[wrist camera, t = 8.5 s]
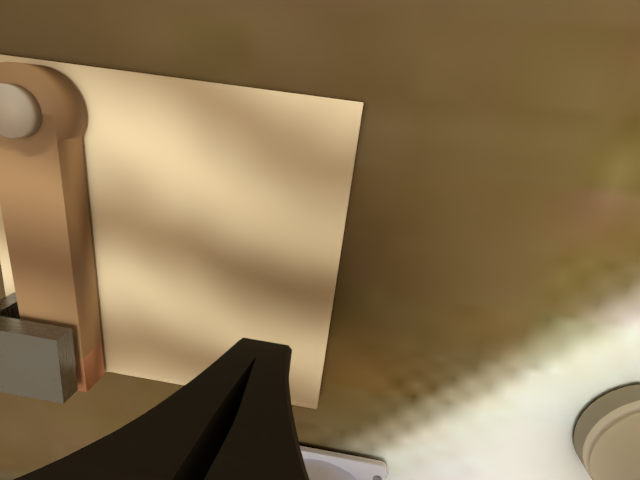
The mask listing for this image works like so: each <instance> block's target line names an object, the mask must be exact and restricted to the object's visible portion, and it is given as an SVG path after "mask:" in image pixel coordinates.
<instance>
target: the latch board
mask: <svg viewBox="0 0 640 480" xmlns="http://www.w3.org/2000/svg"><path fill="white" fill-rule="evenodd" d="M0 62H18V63H27V64H36V65H43V66H48V67H51V68H53V69H55V70H57V71H59V72H60V73H62V74H63V75H64V76H66V77H67V78H68V79H69V80H70V81H71V82H72V83H73V85H74V86H75V87H76V89H77V90H78V92H79V94H80V96H81V98H82V100H83V103H84V107H85V112H86V126H85V130H84V133H83V136H82V146H83V157H84V167H85V177H86V187H87V197H88V207H89V217H90V228H91V238H92V248H93V258H94V268H95V278H96V288H97V299H98V309H99V319H100V329H101V339H102V349H103V359H104V370H105V371H108V372H113V373H119V374H124V375H130V376H136V377H141V378H147V379H152V380H158V381H163V382H169V383H174V384H180V385H186V384H187V383H189V382H190V381H191V380H193V379H194V378H195V377H196V376H198V375H199V374H200V373H201V372H203V371H204V370H205V369H206V368H208V367H209V366H210V365H211V364H212V363H214V362H215V361H216V360H217V359H218V358H219V357H221V356H222V355H223V354H224V353H225V352H226V351H228V350H229V349H230V348H231V347H232V346H233V345H234V344H236V343H237V342H238V341H239V340H240V339H242V338H249V339H255V340H261V341H266V342H272V343H278V344H284V345H289V347H290V348H291V349H292V355H291V363H290V372H289V388H290V397H291V405H297V406H302V407H308V408H313V409H317V405H318V399H319V392H320V386H321V379H322V372H323V366H324V359H325V353H326V346H327V340H328V333H329V326H330V320H331V313H332V307H333V300H334V294H335V287H336V280H337V274H338V267H339V261H340V254H341V248H342V241H343V235H344V228H345V221H346V215H347V208H348V202H349V195H350V189H351V182H352V175H353V169H354V162H355V156H356V149H357V143H358V136H359V129H360V123H361V116H362V110H363V102H356V101H348V100H341V99H333V98H326V97H318V96H311V95H303V94H295V93H288V92H280V91H273V90H265V89H258V88H250V87H242V86H235V85H227V84H220V83H212V82H205V81H197V80H190V79H182V78H174V77H167V76H159V75H152V74H144V73H137V72H129V71H121V70H114V69H106V68H99V67H91V66H84V65H76V64H68V63H61V62H53V61H46V60H38V59H31V58H23V57H16V56H8V55H0ZM0 261H1V268H2V274H3V280H4V287H5V293H6V296H8V295H10V294H12V293H14V292H15V287H14V281H13V275H12V269H11V264H10V258H9V252H8V246H7V241H6V235H5V229H4V224H3V218H2V212H1V206H0Z"/></svg>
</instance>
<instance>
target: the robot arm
mask: <svg viewBox="0 0 640 480" xmlns="http://www.w3.org/2000/svg"><path fill="white" fill-rule="evenodd" d="M291 355H292V349H291V348H290V347H289V345H284V344H278V343H272V342H266V341H261V340H255V339H249V338H242V339H240V340H239V341H238V342H237V343H236V344H234V345H233V346H232V347H231V348H230V349H229V350H228V351H226V352H225V353H224V354H223V355H222V356H221V357H219V358H218V359H217V360H216V361H215V362H214V363H212V364H211V365H210V366H209V367H208V368H206V369H205V370H204V371H203V372H201V373H200V374H199V375H198V376H196V377H195V378H194V379H193V380H191V381H190V382H189V383H187V384H186V385H185V386H183V387H182V388H181V389H179V390H178V391H176V392H175V393H174V394H172V395H171V396H169V397H168V398H167V399H165V400H164V401H162V402H161V403H160V404H158V405H157V406H155V407H154V408H152V409H151V410H149V411H148V412H146V413H145V414H143V415H141V416H140V417H138V418H137V419H135V420H133V421H132V422H130V423H128V424H127V425H125V426H123V427H122V428H120V429H118V430H116V431H115V432H113V433H111V434H109V435H107V436H105V437H103V438H101V439H99V440H97V441H95V442H93V443H91V444H90V445H88V446H86V447H84V448H82V449H80V450H78V451H76V452H74V453H72V454H70V455H68V456H66V457H64V458H62V459H60V460H57V461H55V462H53V463H51V464H49V465H46V466H44V467H42V468H40V469H38V470H35V471H33V472H30V473H28V474H26V475H23V476H21V477H19V478H16V479H14V480H386V477H387V465H386V464H385V463H384V462H383V461H379V460H374V459H369V458H363V457H358V456H353V455H347V454H342V453H336V452H331V451H326V450H320V449H315V448H310V447H304V446H300V445H299V441H298V437H297V433H296V428H295V423H294V417H293V412H292V405H291V397H290V388H289V372H290V363H291ZM375 475H378V476H375Z"/></svg>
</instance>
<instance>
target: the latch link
mask: <svg viewBox="0 0 640 480" xmlns="http://www.w3.org/2000/svg"><path fill="white" fill-rule="evenodd" d="M85 126H86V112H85V107H84V103H83V100H82V98H81V96H80V94H79V92H78V90H77V89H76V87H75V86H74V85H73V83H72V82H71V81H70V80H69V79H68V78H67V77H66V76H64V75H63V74H62V73H60V72H59V71H57V70H55V69H53V68H51V67H48V66H43V65H36V64H27V63H18V62H0V206H1V212H2V218H3V224H4V229H5V235H6V241H7V246H8V252H9V258H10V264H11V269H12V275H13V281H14V287H15V292H16V298H17V304H18V310H19V315H20V320H26V321H32V322H37V323H43V324H49V325H55V326H60V327H66V328H72V334H73V344H74V354H75V364H76V374H77V385H78V390H79V391H85V392H87V391H88V390H89V389H90V388H91V387H92V386H93V385H94V384H95V383H96V382H97V381H98V380H99V379H100V378H101V377H102V375H103V374H104V373H105V370H104V359H103V349H102V339H101V329H100V319H99V309H98V299H97V288H96V278H95V268H94V258H93V248H92V238H91V228H90V217H89V207H88V197H87V187H86V177H85V167H84V157H83V146H82V136H83V133H84V130H85Z"/></svg>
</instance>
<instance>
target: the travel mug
mask: <svg viewBox="0 0 640 480" xmlns="http://www.w3.org/2000/svg"><path fill="white" fill-rule="evenodd" d="M574 446H575V450H576V453H577V454H578V456H579V458H580V460H581V462H582V463H583V465H584V467H585V468H586V470H587V472H588V473H589V475H590V477H591V478H592V479H593V480H640V384H638V385H632V386H627V387H622V388H620V389H617V390H614V391H611V392H609V393H607V394H605V395H604V396H602V397H600V398H598V399H597V400H596V401H594V402H593V403H592V404H591V405H589V407H588V408H587V409H586V410H585V411H584V412H583V413H582V415H581V417H580V418H579V420H578V422H577V424H576V428H575V431H574Z"/></svg>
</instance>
